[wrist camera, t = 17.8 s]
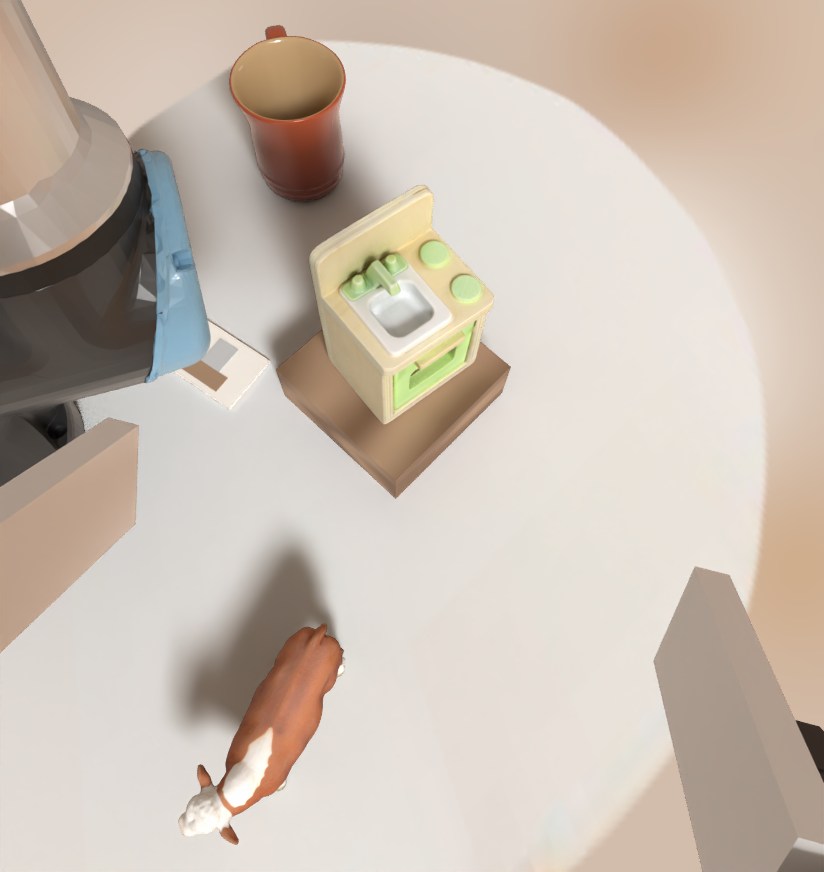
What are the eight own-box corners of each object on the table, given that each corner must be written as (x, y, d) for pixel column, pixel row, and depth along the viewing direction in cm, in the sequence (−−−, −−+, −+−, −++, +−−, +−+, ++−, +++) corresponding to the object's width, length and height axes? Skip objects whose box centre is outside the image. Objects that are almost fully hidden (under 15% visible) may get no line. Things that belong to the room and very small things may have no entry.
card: (160, 363, 55) (159, 360, 55) (202, 318, 57) (201, 315, 56) (229, 409, 54) (228, 407, 53) (270, 362, 55) (269, 360, 55)
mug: (362, 204, 61) (356, 111, 51) (263, 222, 60) (238, 131, 51) (335, 103, 65) (325, -1, 56) (242, 118, 64) (215, 15, 55)
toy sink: (387, 435, 48) (386, 344, 36) (325, 360, 50) (305, 249, 38) (481, 368, 50) (510, 261, 38) (418, 299, 52) (427, 175, 40)
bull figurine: (193, 807, 44) (151, 828, 36) (314, 621, 48) (299, 605, 41) (250, 848, 43) (219, 879, 36) (368, 655, 47) (362, 646, 40)
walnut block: (286, 397, 55) (276, 369, 50) (392, 303, 58) (392, 268, 53) (395, 500, 52) (395, 480, 47) (500, 395, 55) (510, 366, 51)
